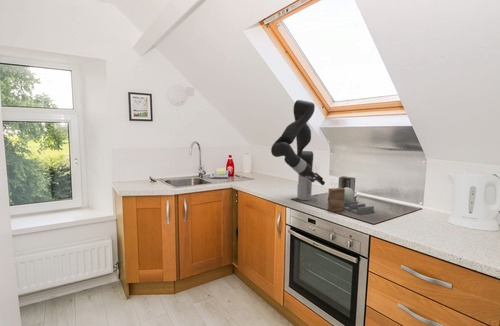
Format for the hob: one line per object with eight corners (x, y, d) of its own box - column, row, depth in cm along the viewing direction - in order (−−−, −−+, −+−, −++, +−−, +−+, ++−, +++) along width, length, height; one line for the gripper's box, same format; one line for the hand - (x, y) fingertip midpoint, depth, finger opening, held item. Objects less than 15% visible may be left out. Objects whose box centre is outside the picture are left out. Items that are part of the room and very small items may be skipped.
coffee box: (354, 201, 191) (355, 177, 189) (349, 202, 186) (350, 178, 185) (342, 198, 197) (343, 176, 196) (337, 200, 193) (338, 176, 191)
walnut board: (327, 210, 169) (328, 188, 167) (339, 208, 172) (340, 187, 171) (331, 211, 165) (332, 189, 164) (343, 210, 169) (344, 188, 167)
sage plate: (338, 205, 176) (339, 187, 175) (352, 203, 180) (353, 186, 179) (339, 205, 175) (340, 188, 174) (353, 204, 179) (354, 187, 178)
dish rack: (334, 205, 179) (334, 200, 179) (348, 203, 184) (349, 198, 183) (358, 214, 160) (358, 208, 160) (374, 212, 165) (374, 206, 164)
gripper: (312, 162, 148) (330, 179, 155) (296, 159, 161) (314, 174, 168) (305, 174, 147) (323, 190, 154) (289, 170, 160) (307, 185, 167)
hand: (318, 182), depth 161 cm, fingers open, 8 cm apart
